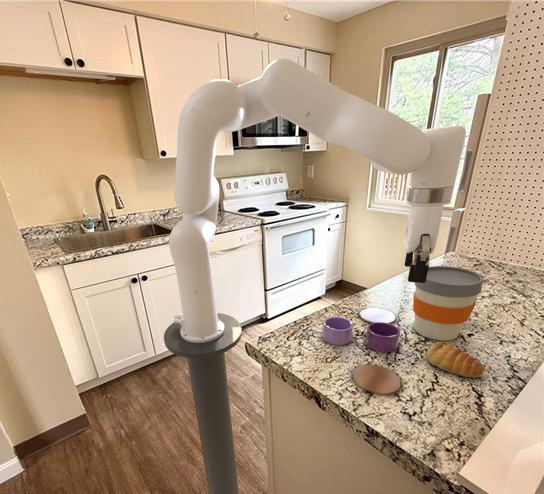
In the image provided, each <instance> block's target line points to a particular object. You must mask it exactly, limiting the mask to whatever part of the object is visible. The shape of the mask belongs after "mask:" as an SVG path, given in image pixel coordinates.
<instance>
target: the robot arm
mask: <svg viewBox="0 0 544 494" xmlns="http://www.w3.org/2000/svg"><path fill="white" fill-rule="evenodd" d="M279 116H280V117H282V118H283V119H284V120H287V121H288V122H290V123H292V124H294V125H296V126H298V127H299V128H300V129H303V130H304V131H306V132H308V133H310V134H311V135H312V136H315V138H319V139H320V140H323V141H324V142H327V143H330V144H333V145H338V146H341V147H344V148H346V149H348V150H350V151H353V152H355V153H357V154H359V155H361V156H363V157H364V158H366V159H368V160H369V163H370V165H371V166H372V167H373V168H374V169H375V170H376V171H380V172H383V173H388V174H392V175H396V176H405V175H408V174H411V175H410V180H409V186H408V193H407V197H406V199H407V200H406V205H409V206H410V209H409V213H408V217H407V220H406V221H407V222H406V226H405V232H404V237H403V241H402V242H403V247H404V251H405V253H406V254H405V260H404V267H409V270H408V276H407V282H408V283H415V282H416V283H425V282H426V278H427V273H428V268H429V267H430V257H431V255H432V254H433V253H434V252H435V249H436V245H437V241H438V236H439V231H440V228H441V222H442V216H443V211H444V206H446V205H450V204H451V203H452V199H453V194H454V190H455V185H456V180H457V176H458V172H459V167H460V164H461V158H462V153H463V150H464V146H465V145H464V144H465V141H466V136H467V131H466V130H467V129H466V128H465V127H464V126H463V125H447V126H446V125H445V126H438V127H431V128H427V129H423V130H422V129H421V128H419V127H418V126H416V125H414V124H412V123H411V122H409V121H407V120H406V119H404V118H402V117H400V116H398V115H397V114H396V113H393V112H392V111H390V110H387V109H385V108H383V107H381V106H379V105H376V104H374V103H372V102H369V101H367V100H365V99H363V98H361V97H359V96H357V95H354V94H352V93H349V92H348V91H346V90H344V89H342V88H340V87H339V86H337V85H336V84H333V83H331V82H330V81H328V80H327V79H325V78H323V77H321V76H320V75H318V74H316V73H315V72H313V71H311V70H310V69H308V68H306V67H304V66H302V65H301V64H300V63H298V62H296V61H294V60H291V59H289V58H278V59H276V60H273V61H272V62H271V63H270V64H268V65H267V67H266V68H265V70H263V73H262V75H261V76H260V77H257V78H255V79H252V80H250V81H247V82H245V83H241V84H238V85H236V84H235V83H234V82H233V81H230V80H228V79H223V78H222V79H220V78H219V79H218V78H217V79H212V80H210V81H208V82H206V83H204V84H202V85H200V86H199V87H197V89H195V90H194V91H193V92H192V93H191V94H190V95H189V96H188V97H187V100H186V101H185V103H184V105H183V107H182V109H181V112H180V116H179V119H178V125H177V126H178V127H177V141H176V142H177V143H176V159H175V176H174V195H173V196H174V200H175V204H176V206H177V208H178V209H179V210H180V211H181V212H182V217H181V218H182V219H181V221H179V222H178V223H177V224H175V226H174V227H173V229H171V232H170V234H169V239H168V248H169V252H170V256H171V258H172V262H173V265H174V269H175V274H176V280H177V285H178V292H179V298H180V305H181V311H182V313H178V312H175V314H174V317H173V318H174V319H173V323H176V324H181V325H182V327H181V329H180V333H181V336H182V338H183V339H184V340H186V341H189V342H193V343H204V342H209V341H212V340H215V339H217V338H218V337H220V336H221V335H222V334H223V332H224V324H223V323H222V321H220V320H218V315H217V313H218V307H217V298H216V288H215V287H216V286H215V278H214V271H213V263H212V260H211V256H210V245H211V244H212V242H213V240H214V238H215V235H216V230H217V229H216V228H217V220H218V209H219V201H220V185H219V181H218V180H217V178H216V176H215V175H214V170H215V160H216V148H217V147H216V144H217V138H218V136H219V133H220V132H224V133H232V132H233V133H234V132H236V131H240V130H243V129H245V128H249V127H251V126H254V125H257V124H260V123H264V122H266V121H269V120H272V119H274V118H276V117H279Z"/></svg>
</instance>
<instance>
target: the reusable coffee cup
mask: <svg viewBox="0 0 544 494" xmlns="http://www.w3.org/2000/svg"><path fill="white" fill-rule="evenodd" d="M483 282H484V277H483V276H482V275H481V274H480V273H478V272H476V271H473V270H470V269H468V268H463V267H456V266H448V265H432V266H431V265H430V266H429V268H428V273H427V278H426V282H425V283H416V282H414V285H415V290H414V292H413V297H412V299H413V301H412V311H413V313H414V327H413V328H414V330H415V331H416V333H418V334H419V335H421V336H422V337H425V338H427V339H431V340H436V341H453V340H455V339H457V338H458V336H459V334H460V333H461V330H462V329H463V326H464V324H465V323H466V322H467V321H468V320H469V319H470V316H471V315H472V313H473V310H474V308H475V306H476V305H477V300H476V299H477V297H478V296H479V294H481V292H482V289H483Z"/></svg>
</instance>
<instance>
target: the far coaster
mask: <svg viewBox="0 0 544 494" xmlns="http://www.w3.org/2000/svg"><path fill="white" fill-rule="evenodd" d="M359 317H360V319H362V320H363V321H364V322H367V323H369V324H371V323H374V322H384V323H389V324H393V323H394V322H395V321H396V315H395V314H394V313H393V312H392V311H389V310H388V309H387V310H386V309H384V308H377V307H367V308H365V309H362V310H361V311H360V312H359Z"/></svg>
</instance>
